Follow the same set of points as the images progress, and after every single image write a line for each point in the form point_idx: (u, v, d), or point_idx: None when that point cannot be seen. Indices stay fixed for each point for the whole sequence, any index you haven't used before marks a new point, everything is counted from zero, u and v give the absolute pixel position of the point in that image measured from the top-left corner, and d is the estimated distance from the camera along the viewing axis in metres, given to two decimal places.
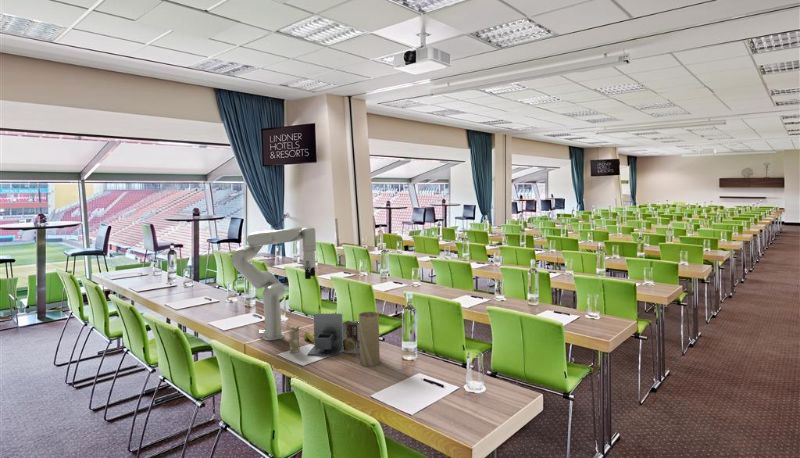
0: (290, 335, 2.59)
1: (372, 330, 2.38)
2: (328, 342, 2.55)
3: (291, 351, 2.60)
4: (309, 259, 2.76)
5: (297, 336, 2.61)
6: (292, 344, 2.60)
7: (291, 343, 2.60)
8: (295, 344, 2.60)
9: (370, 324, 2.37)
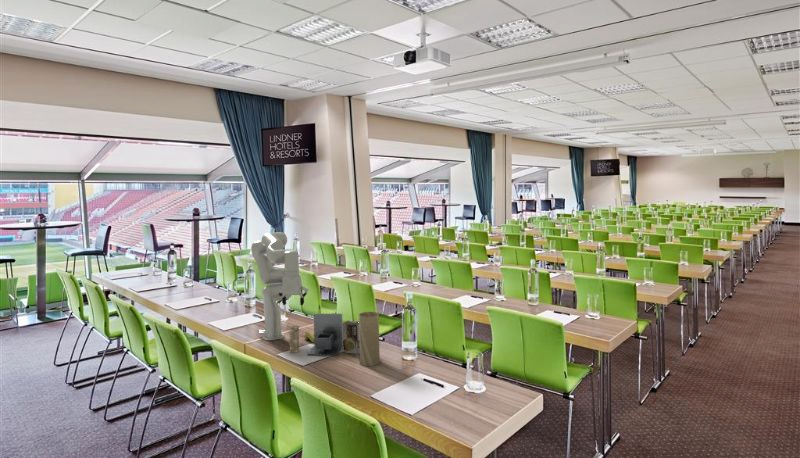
0: (290, 335, 2.59)
1: (372, 330, 2.38)
2: (328, 342, 2.55)
3: (291, 351, 2.60)
4: (301, 283, 2.60)
5: (297, 336, 2.61)
6: (292, 344, 2.60)
7: (291, 343, 2.60)
8: (295, 344, 2.60)
9: (370, 324, 2.37)
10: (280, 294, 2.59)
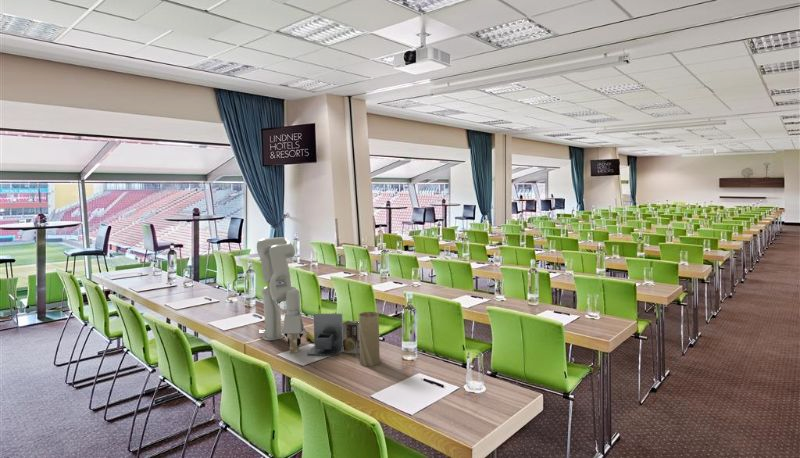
0: (290, 335, 2.59)
1: (372, 330, 2.38)
2: (328, 342, 2.55)
3: (291, 351, 2.60)
4: None
5: None
6: (292, 344, 2.60)
7: (291, 343, 2.60)
8: (295, 344, 2.60)
9: (370, 324, 2.37)
10: (286, 334, 2.61)
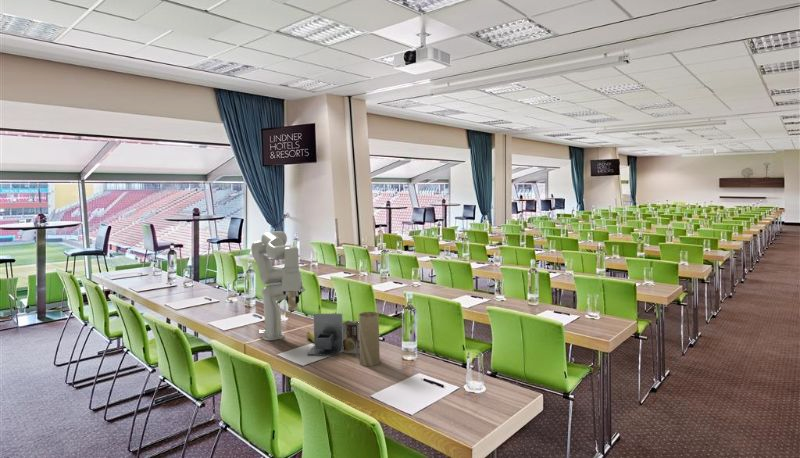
0: (288, 293, 2.57)
1: (372, 330, 2.38)
2: (328, 342, 2.55)
3: (289, 309, 2.58)
4: (301, 279, 2.60)
5: None
6: (291, 301, 2.58)
7: (289, 301, 2.58)
8: (293, 302, 2.58)
9: (370, 324, 2.37)
10: (284, 292, 2.59)
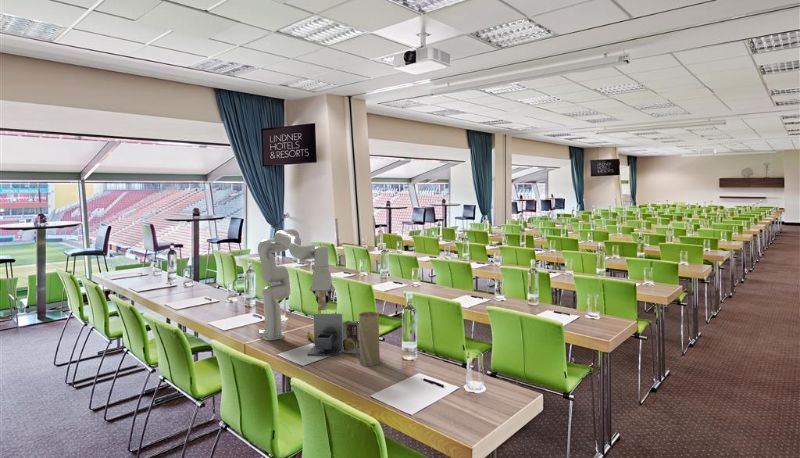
0: (318, 292, 2.56)
1: (372, 330, 2.38)
2: (328, 342, 2.55)
3: (319, 308, 2.56)
4: None
5: (325, 293, 2.57)
6: (321, 301, 2.56)
7: (319, 300, 2.56)
8: (323, 301, 2.56)
9: (370, 324, 2.37)
10: (314, 291, 2.57)
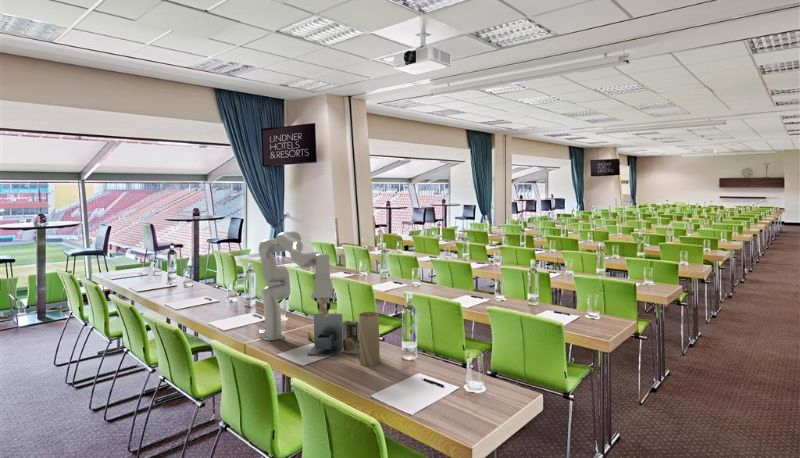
0: (320, 299, 2.56)
1: (372, 330, 2.38)
2: (328, 342, 2.55)
3: (321, 316, 2.57)
4: (332, 286, 2.58)
5: None
6: (322, 308, 2.56)
7: (321, 308, 2.56)
8: (324, 309, 2.56)
9: (370, 324, 2.37)
10: (315, 299, 2.57)
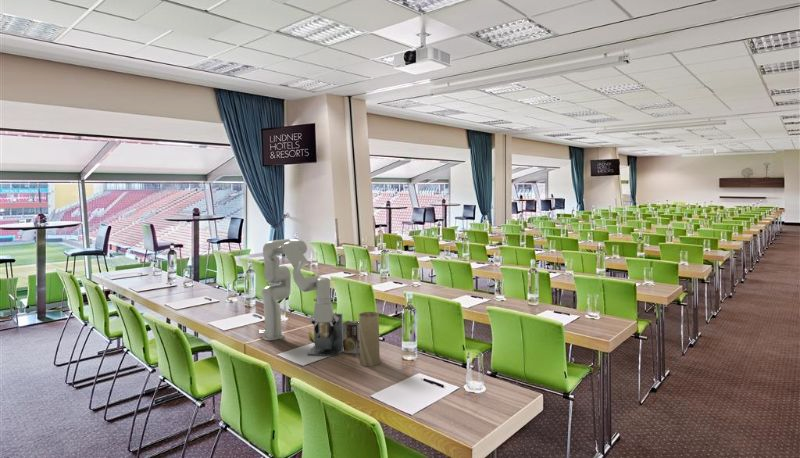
0: (320, 328, 2.57)
1: (372, 330, 2.38)
2: (328, 342, 2.55)
3: None
4: None
5: (327, 329, 2.59)
6: (323, 337, 2.58)
7: (321, 336, 2.58)
8: (325, 337, 2.57)
9: (370, 324, 2.37)
10: (313, 322, 2.59)
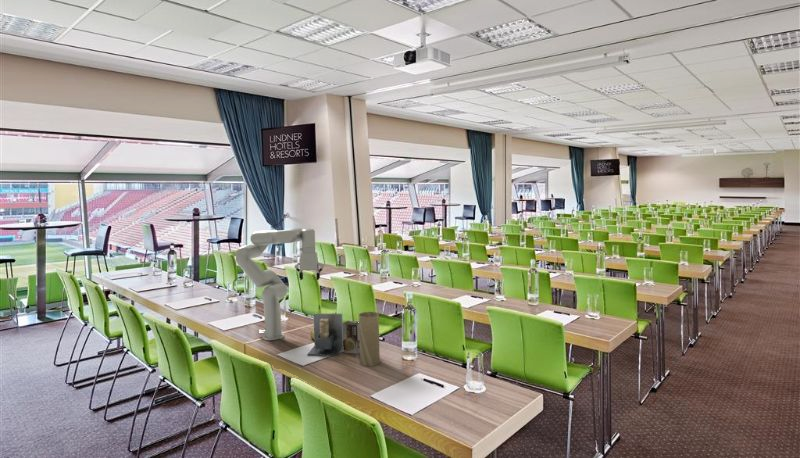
0: (320, 328, 2.57)
1: (372, 330, 2.38)
2: (328, 342, 2.55)
3: None
4: (317, 259, 2.77)
5: (327, 329, 2.59)
6: (323, 337, 2.58)
7: (321, 336, 2.58)
8: (325, 337, 2.57)
9: (370, 324, 2.37)
10: (297, 269, 2.77)
